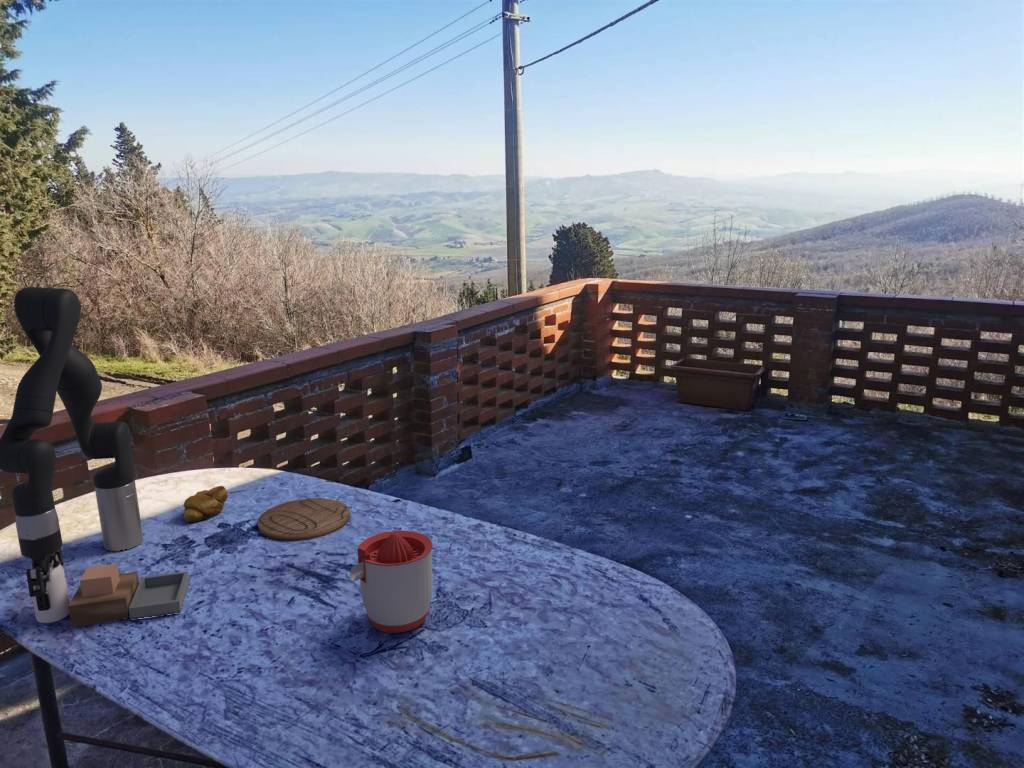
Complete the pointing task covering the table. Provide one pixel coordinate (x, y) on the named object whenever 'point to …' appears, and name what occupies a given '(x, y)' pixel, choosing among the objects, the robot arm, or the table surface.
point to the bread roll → (205, 504)
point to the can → (54, 598)
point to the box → (159, 595)
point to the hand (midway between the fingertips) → (51, 599)
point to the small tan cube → (99, 580)
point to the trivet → (304, 519)
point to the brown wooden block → (104, 603)
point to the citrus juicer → (395, 579)
